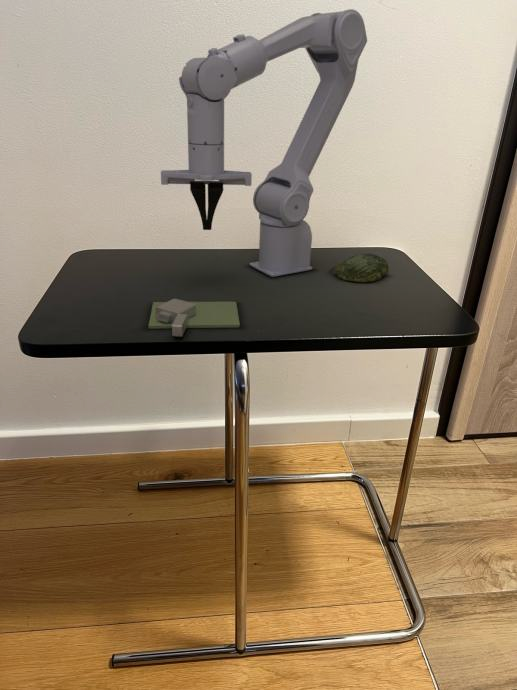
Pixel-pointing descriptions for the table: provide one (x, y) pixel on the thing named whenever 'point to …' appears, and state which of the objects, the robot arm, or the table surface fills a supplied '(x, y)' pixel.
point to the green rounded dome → (362, 268)
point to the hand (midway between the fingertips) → (207, 228)
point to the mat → (204, 316)
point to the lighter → (176, 314)
